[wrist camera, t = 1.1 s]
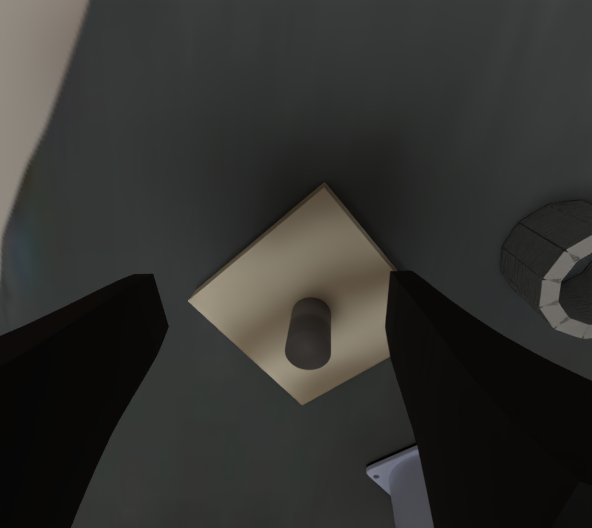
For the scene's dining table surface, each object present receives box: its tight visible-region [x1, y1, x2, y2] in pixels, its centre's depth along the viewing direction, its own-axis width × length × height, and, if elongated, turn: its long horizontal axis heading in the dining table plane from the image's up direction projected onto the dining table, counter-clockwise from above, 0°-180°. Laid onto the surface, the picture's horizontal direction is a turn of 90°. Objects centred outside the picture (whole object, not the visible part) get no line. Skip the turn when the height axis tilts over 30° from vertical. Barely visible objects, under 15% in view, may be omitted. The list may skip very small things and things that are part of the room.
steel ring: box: [501, 200, 592, 339], centre depth 17 cm, size 6×6×4 cm
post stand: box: [188, 182, 398, 405], centre depth 19 cm, size 11×11×5 cm
